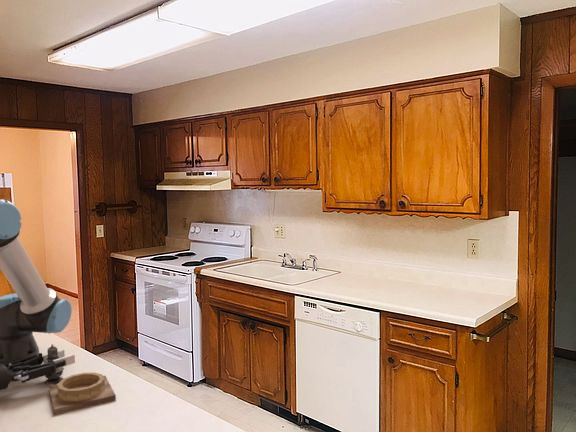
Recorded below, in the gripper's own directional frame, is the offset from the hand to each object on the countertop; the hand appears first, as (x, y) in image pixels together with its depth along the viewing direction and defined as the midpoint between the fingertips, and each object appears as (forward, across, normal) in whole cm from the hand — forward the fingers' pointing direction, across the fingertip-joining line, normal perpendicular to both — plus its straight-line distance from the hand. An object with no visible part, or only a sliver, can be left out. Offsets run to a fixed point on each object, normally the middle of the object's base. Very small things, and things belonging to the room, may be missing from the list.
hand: (68, 356), depth 155 cm
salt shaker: (-5, 0, -7) cm, 8 cm away
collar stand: (-5, +17, -6) cm, 19 cm away
